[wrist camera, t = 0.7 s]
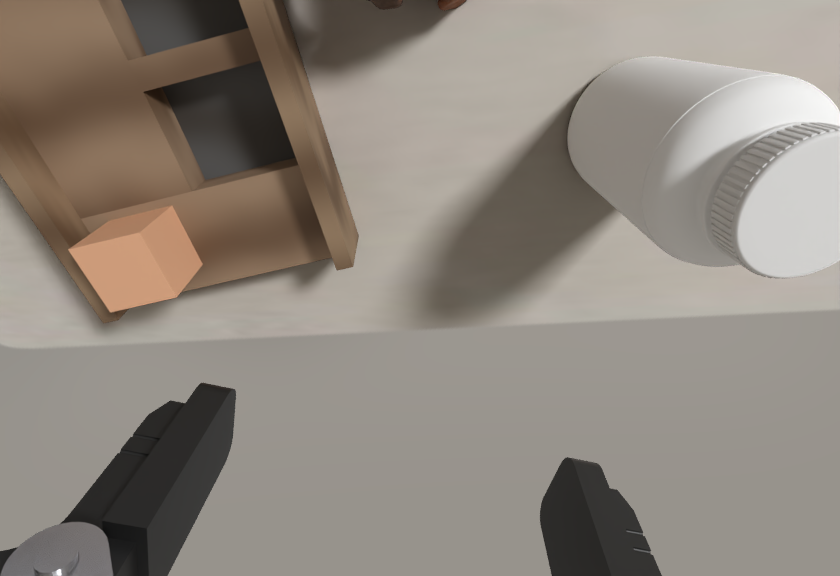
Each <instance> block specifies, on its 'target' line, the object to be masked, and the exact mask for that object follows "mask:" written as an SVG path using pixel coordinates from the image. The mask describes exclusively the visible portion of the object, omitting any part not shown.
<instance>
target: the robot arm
mask: <svg viewBox="0 0 840 576" xmlns="http://www.w3.org/2000/svg"><path fill="white" fill-rule="evenodd" d="M235 400H236V391H235V389H231V388H226V387H221V386H216V385H211V384H206V383H201V384H199V386H198V387H197V388H196V389H195V391H194V392H193V393H192V395H191V396H190V398H189V399H188V401H187V402H186V403H180V402H175V401H169V402H167V403H166V404H164V405H163V406H161V407H160V408H159V409H157V410H155V411H153V412H152V413H150V414H149V415H148V416H147V417H146V418H145V420H144V421H143V422H142V423H141V425H140V426H139V427H138V428H137V430H136V431H135V432H134V434H133V437H130V439H129V440H128V441H127V442H126V444H125V445H124V446H123V447H122V449H121V452H120V453H118V454H117V455H116V456H115V458H114V459H113V460H112V461H111V463H110V464H109V465H108V466H107V468H106V469H105V470H104V471H103V473H102V474H101V475H100V477H99V478H98V479H97V480H96V482H95V483H94V484H93V485H92V487H91V488H90V489H89V490H88V492H87V493H86V494H85V495H84V497H83V498H82V499H81V501H80V502H79V503H78V504H77V506H76V507H75V508H74V509H73V511H72V512H71V513H70V514H69V515H68V517H67V518H66V519H65V520H64V521H63V522H62V523H61V524H59V525H55V526H52V527H50V528H47V529H45V530H43V531H41V532H39V533H37V534H35V535H33V536H32V537H30V538H29V539H27V540H26V541H25V542H24V543H22V544H21V545H20V546H19V547H17V548H13V549H10V550H5V551H0V576H167V575H168V574H169V572H170V570H171V568H172V566H173V564H174V562H175V560H176V558H177V556H178V554H179V552H180V550H181V548H182V546H183V544H184V542H185V540H186V538H187V536H188V534H189V533H190V530H191V529H192V527H193V525H194V523H195V521H196V519H197V517H198V515H199V513H200V511H201V509H202V507H203V505H204V503H205V501H206V499H207V497H208V495H209V493H210V491H211V490H212V488H213V486H214V484H215V482H216V480H217V478H218V476H219V474H220V472H221V470H222V468H223V466H224V464H225V462H226V460H227V457H228V454H229V451H230V448H231V444H232V438H233V427H234V413H235ZM540 522H541V528H542V533H543V538H544V542H545V546H546V551H547V556H548V560H549V565H550V569H551V574H552V576H662V575H661V573H660V571H659V569H658V566H657V564H656V561H655V559H654V557H653V555H651V554H650V551H651V550H650V547H649V545H648V543H647V540H646V538H645V537H644V536H643V534H642V533H643V531H642V529H641V526H640V524H639V522H638V520H637V517H636V515H635V513H634V510H633V509H632V508H631V507H630V505H629V504H628V503H627V501H626V500H625V499H624V498H623V496H622V495H621V494H620V493H619V492H618V490H614V489H610V488H609V485H608V483H607V480H606V478H605V475H604V473H603V470H602V468H601V467H600V465H599V464H597V463H593V462H588V461H583V460H578V459H573V458H568V457H567V458H565V459H564V460H563V461H562V463H561V465H560V466H559V468H558V470H557V472H556V474H555V476H554V478H553V480H552V482H551V484H550V486H549V488H548V490H547V492H546V494H545V496H544V498H543V500H542V504H541V510H540Z"/></svg>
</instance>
